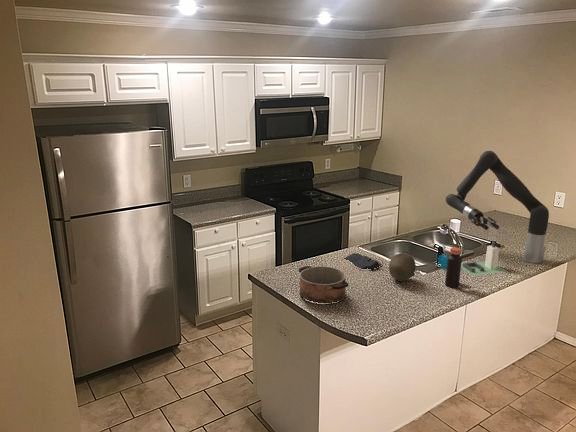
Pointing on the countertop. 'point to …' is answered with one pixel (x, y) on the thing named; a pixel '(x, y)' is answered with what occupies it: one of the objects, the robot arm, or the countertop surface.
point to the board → (486, 269)
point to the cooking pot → (322, 284)
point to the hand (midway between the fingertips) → (493, 228)
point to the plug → (492, 256)
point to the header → (468, 265)
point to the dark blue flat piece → (363, 261)
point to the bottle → (453, 268)
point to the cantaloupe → (402, 266)
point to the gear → (443, 261)
